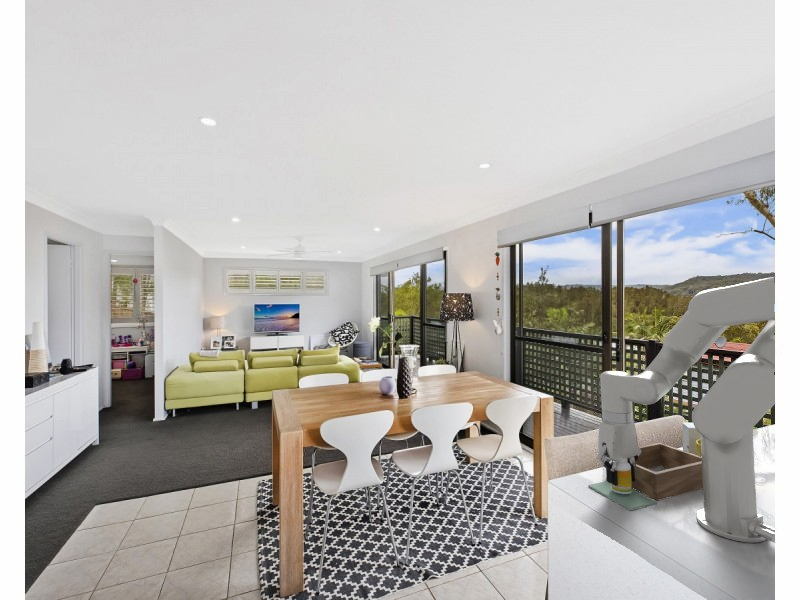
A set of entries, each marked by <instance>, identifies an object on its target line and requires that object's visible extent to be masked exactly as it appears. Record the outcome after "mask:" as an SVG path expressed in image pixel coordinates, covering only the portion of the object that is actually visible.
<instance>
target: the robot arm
mask: <svg viewBox="0 0 800 600" xmlns="http://www.w3.org/2000/svg"><path fill="white" fill-rule="evenodd" d="M774 277H775V276H773V277H771V276H770V277H765V278H762V279H761V278H760V279H758V280H754V281H748V282H743V283H739V284H734V285H729V286H725V287H724V286H723V287H717V288H711V289H706V290H702V291H700V292H698V293H697V294H695V295H694V296H693V297H692V298H691V300H690V301H689V303H688V307H687V310H686V312H685V313H684V314H683V315H682V317H681V318H680V319H679V320H678V321H677V322H676V323H675V325H674V326H672V328H671V329H670V331H668V332H667V334H666V335H665V337H664V339H663V344H662V348H661V349H660V351H659V353H658V354H657V355H656V356H655V358H654V359H653V360H652V361H651V363H650V364H649V365H648V366H647V367H646V369H644V370H643V372H640V373H639V374H636V375H630V374H629V373H628V372H625V371H619V370H606V371H603V372H601V373H600V377H599V380H600V381H599V382H600V396H601V397H600V399H601V417H602V418H601V420H600V422H599V426H598V436H597V438H598V439H597V444H598V446H597V450H598V454H597V456H596V460H597V461H598V462H599V463H601V465H602V466H603V468H605V473H606V475H605V476H606V477H605V478H606V481H607V482H609V483H611V484H613V485H615V486H617V485H618V476H617V471H615V469H616V463H617V460H621V459H624V458H627V459H628V461H627V463H629V464H630V466H631V479H632V482H634V481H635V469H634V467H635V466H636V461H637V459H638V456H639V455H640V453H641V452H642V451H641V449H640V448H639V447H640V446H639V441H638V440H639V439H638V433H637V428H636V425H635V421H634V411H633V403H635V404H639V405H653V404H655V403H656V402H658V401H659V400H660V399H662V397H664V396H666V395H667V394H668V393H669V392H670V390H672V388H673V387H674V386H675V385H676V384H677V383H678V381H679V380H681V378H682V377H683V376H684V375H685V374H686V373H687V371H688V370H689V369H690V368H691V367H692V366H693V365H694V364H696V363H697V362H698V361H699V360H700V359H701V358H702V357H703V355H705V353H706V352H707V351H708V350H709V349H710V347H712V346H713V344H715V342H716V341H717V339H718V338H719V337H721V336H722V334H723V333H724V332H725V331H726V330H727V329H728V328H729V327H730V326H740V325H745V324H746V325H747V324H751V323H759V322H766V321H767V322H766V324H765V326H764V327H763V328H762V329H761V330H760V332H759V333H758V335H757V336H756V338H755V339H754V340H753V342H752V343H751V344H750V345H749V346H748V347H747V348H746V350H745V351H744V352H743V353H742V354H741V355H740V356H739V357H738V358H737V359H735V360H734V361H732V363H730V364H729V365H728V366H727V368H726V369H725V370H724V372H722V374H721V375H720V376H719V378H718V379H717V380H716V381H715V383H714V384H713V385H712V386H711V387H710V388H709V390H707V392H706V393H705V394H704V396H703V397H702V398H701V399H700V400H699V401H698V403H697V404H696V405H695V406H694V408H693V410H692V412H691V414H692V415H691V420H692V423H693V424H694V426H695V428H696V430H697V431H698V432H699V433H700V434H701V461H702V480H703V488H702V496H703V508H702V509H699V510H697V512H696V521H697V522H698V523H699V524H700V526H702V527H703V528H705V530H707V531H709V532H711V533H713V534H716V535H717V536H720V537H722V538H726V539H728V540H731V541H737V542H742V543H753V544H754V543H755V544H756V543H762V542H765V541H766V540H768V541H769V542H772V543H774V544H775V543H776V542H775V529H776V528H775V527H773V526H770V525H767V524H766V523H765V522H764V516H763V515H762V514H759V513H758V511H757V510H758V509H757V493H756V473H755V472H756V471H755V453H754V452H755V450H754V427H755V426H756V425H757V424H758V422H759V421H761V420H762V418H763V417H764V416H765V415H766V414H767V413H768V412H769V411H770V410H771V409H772V408H773V406H774V405H775V404H776V403H775V375H774V372H775V335H774V333H775V312H774V304H775V283H774ZM610 460H611V461H612V463H611V464H610V463H609V462H610Z"/></svg>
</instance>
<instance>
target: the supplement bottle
mask: <svg viewBox="0 0 800 600" xmlns="http://www.w3.org/2000/svg"><path fill="white" fill-rule="evenodd" d="M627 461H628V459H627V458H624V459H621V460H617V463H616V469H615V471H617V476H618V485H617V486H615V485H613V484H611V483H610V488H611V490H613V491H614V492H617V493H620V494H629V493H631V492H632V490H633V488H632V479H631V466H630V464H629V463H627ZM609 463H610V464H611V463H612V461H610V462H609Z"/></svg>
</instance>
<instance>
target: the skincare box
mask: <svg viewBox="0 0 800 600" xmlns="http://www.w3.org/2000/svg"><path fill="white" fill-rule="evenodd" d="M698 439H701V434H700V433H699V432H698V431H697V430H696V428H695V426H694V424H693V422H687V421H686V422H682V450H683V451H686V452H689V453H691V454H694V455H697V456H700V455H699V454H698V453H697V450H696V441H697V440H698Z"/></svg>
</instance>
